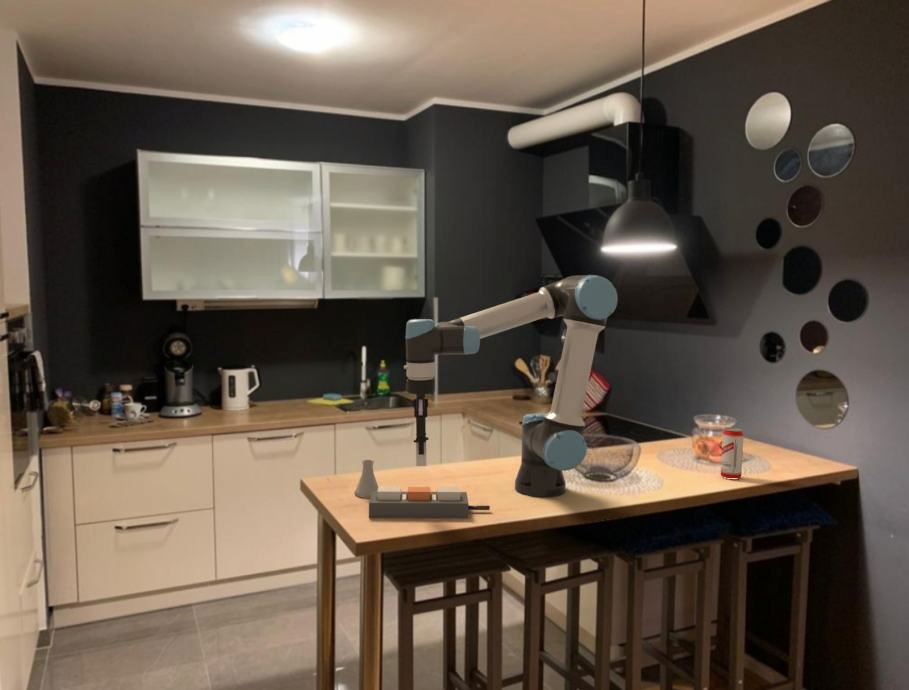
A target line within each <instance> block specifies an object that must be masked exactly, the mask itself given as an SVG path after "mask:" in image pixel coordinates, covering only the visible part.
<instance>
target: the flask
mask: <svg viewBox="0 0 909 690" xmlns="http://www.w3.org/2000/svg"><path fill="white" fill-rule="evenodd" d="M361 463H362V470H361V475H360V478H359V481H358V484H357V485H356V488H355V490H354V493H353V494H354V495H355V496H357V497H359V498H367V499H370V497H371V493H372V491H378V487H379V484H378V482H377V479H376V476H375V473H374V463H375V461H374V460H373V459H363V460H362V461H361Z"/></svg>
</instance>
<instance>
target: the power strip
mask: <svg viewBox="0 0 909 690" xmlns="http://www.w3.org/2000/svg"><path fill="white" fill-rule="evenodd" d="M490 509H491V506H490V505H469V497H468V492H467V491H461V497H460V500H438V491H430V500H408V491H401V500H377V491H372V493H371V497H370V498H369V501H368V518H369V519H469V511H490Z"/></svg>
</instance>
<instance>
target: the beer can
mask: <svg viewBox="0 0 909 690" xmlns="http://www.w3.org/2000/svg"><path fill="white" fill-rule="evenodd" d="M721 439H722V442H721V460H720V462H721V463H720V476H721V477H722V476H723V477H726V478H739V479H741V478H740V477H742V469H743V453H744V450H743V448H744V433H743V429H742V428H738V427H724V431H723V432H722V438H721ZM723 477H722V478H723Z"/></svg>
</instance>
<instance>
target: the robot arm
mask: <svg viewBox="0 0 909 690" xmlns="http://www.w3.org/2000/svg"><path fill="white" fill-rule="evenodd" d="M617 305H618V293H617V289H616V288H615V286H614V285H613V283H612V282H611V281H610V280H609V279H607V278H606V277H603V276H601V275H597V274H596V275H595V274H594V275H593V274H588V275H586V274H585V275H583V274H582V275H580V274H579V275H578V274H577V275H576V274H575V275H571V276H567V277H566V278H563V279H560V280H558V281H556V282H552V283H551V284H548V285H545V286H541V287H540V288H539V290H538V292H535V293H531V294H529V295H526V296H523V297H521V298H520V297H519V298H517V299H514V300H510V301H507V302H505V303H502V304H498V305H496V306H493V307H489V308H486V309H483V310H480V311H477V312H474V313H470V314H468V315H465V316H462V317H459V318H455V319H453V320H449V321H441V322H438V323H436V324H435V320H433V319H428V318H420V319H419V318H413V319H409V320H408V321H407V322H406V325H405V327H406V328H405V336H404V338H405V350H406V351H405V358H406V359H405V360H406V361H405V362H406V365H404V366H403V369H404V370H406V373H405V374H406V377H407V378H406V380H405V381H406V382H405V383H406V393H407V394H409V395H415V396H416V397H415V398H413V401H412V402H413V404H412V406H413V408H414V409H413V410H414V417H415V419H416V420H415V421H416V422H415V424H416V425H415V426H416V429H415V430H416V432H415V435H416V436H415V439H413V443H415V463H416V464H415V465H416V467H427V441H429V436H427V432H426V431H427V429H426V428H427V427H426V422H427V421H426V418H427V417H428V407H429V398H426V395H431V394H433V393H435V391H436V379H435V378H434V377H435V376H436V361H435V356H442V355H447V356H448V355H465V356H466V355H473V354H476V353H478V352H479V350H480V346H481V345H480V344H481V339H483V338H487V337H489V336H493V335H496V334H499V333H502V332H505V331H508V330H511V329H514V328H517V327H520V326H523V325H526V324H529V323H532V322H535V321H537V320H542V319H544V318H547V319H550V320H552V319H555V318H558V317H563V318H562V319H563V322H564V323H565V325H566V333H565V337H564V343H563V347H562V353H561V357H560V362H559V369H558V373H557V377H556V382H555V383H556V384H555V388H554V392H553V397H552V403H551V408H550V410H549V412H547V413H546V412H542V413H541V412H539V413H538V412H537V413H527V414H525V415H523V416H522V422H521V423H522V424H521V463H520V466H519V469H518V471H517V475H516V477H515V481H514V490H515V491H516V492H518V493H519V494H520V493H521V494H523V495H527V496H531V497H532V496H533V497H541V498H543V497H545V498H546V497H549V498H550V497H555V496H561V495H563V494H565V493H566V491H567V489H566V488H567V487H566V486H567V484H566V480H565V476H564V473H563V471H564V472H565V471H570V470H574V469H575V468H577V467H578V466H579V465H580V464H582V462H584V459H585V458H586V455H587V452H588V445H587V442H586V440H585V438H584V434H585V433H584V432H585V427H586V423H585V422H584V420H583V418H582V416H583V415H582V414H583V409H584V405H585V399H586V395H587V389H588V385H589V380H590V375H591V369H592V366H593V359H594V356H595V350H596V347H597V346H596V344H597V341H598V336H599V333H600V332H601V331H603V330H604V329H605V328H606V325H607V320H608V317H609V316H611V315H612V314H613V313H614V312H615V310H616V308H617Z"/></svg>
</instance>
